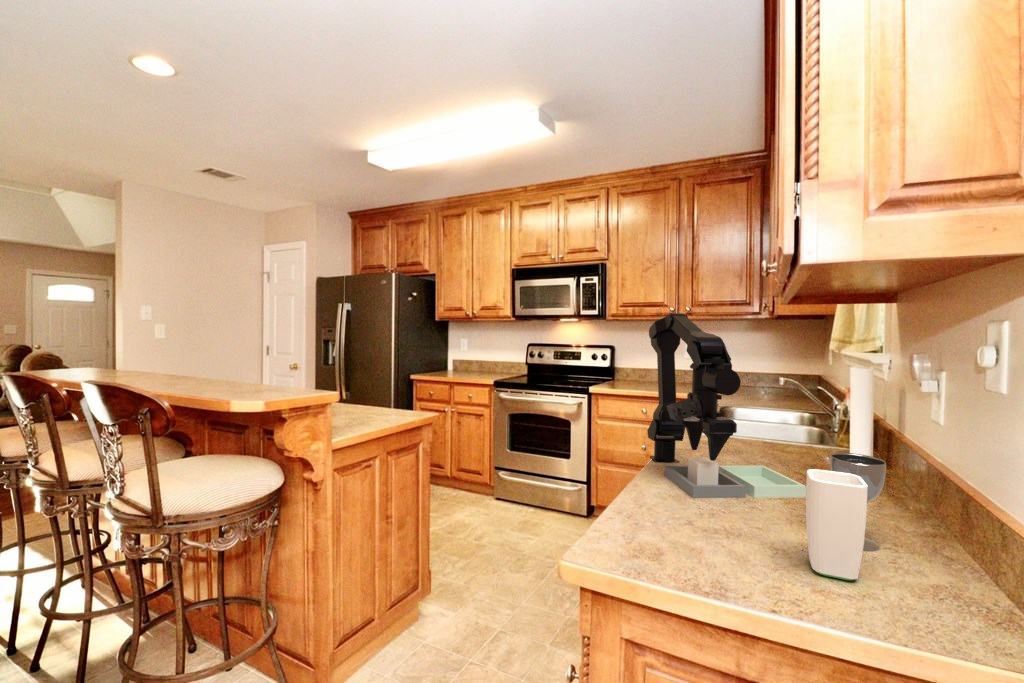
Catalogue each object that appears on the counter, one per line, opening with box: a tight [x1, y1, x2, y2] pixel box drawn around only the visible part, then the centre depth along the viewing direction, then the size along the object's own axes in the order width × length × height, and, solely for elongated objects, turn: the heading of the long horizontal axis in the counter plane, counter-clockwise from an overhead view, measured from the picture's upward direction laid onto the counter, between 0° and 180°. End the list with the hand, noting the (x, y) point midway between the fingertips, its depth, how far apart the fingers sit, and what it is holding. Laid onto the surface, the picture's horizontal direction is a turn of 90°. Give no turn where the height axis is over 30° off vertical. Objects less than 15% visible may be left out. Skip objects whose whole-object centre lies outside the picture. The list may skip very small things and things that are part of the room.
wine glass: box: [830, 452, 887, 552], centre depth 85 cm, size 8×8×15 cm
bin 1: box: [664, 465, 747, 499], centre depth 113 cm, size 16×12×3 cm
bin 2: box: [718, 464, 806, 499], centre depth 114 cm, size 16×12×3 cm
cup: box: [805, 468, 868, 581], centre depth 74 cm, size 7×7×15 cm
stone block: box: [687, 457, 720, 485], centre depth 113 cm, size 5×5×6 cm
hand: (702, 454), depth 113 cm, fingers open, 9 cm apart
